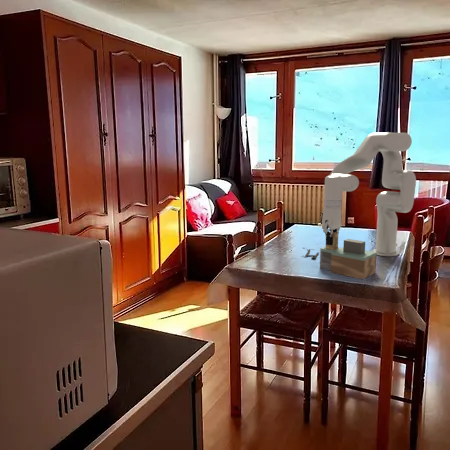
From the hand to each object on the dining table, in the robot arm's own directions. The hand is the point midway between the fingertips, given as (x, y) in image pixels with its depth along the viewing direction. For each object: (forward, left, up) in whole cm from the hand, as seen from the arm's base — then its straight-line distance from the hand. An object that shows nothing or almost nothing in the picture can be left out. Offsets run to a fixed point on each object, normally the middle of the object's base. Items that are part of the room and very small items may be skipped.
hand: (331, 243), depth 194 cm
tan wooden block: (0, 0, -7) cm, 7 cm away
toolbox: (0, +7, -11) cm, 14 cm away
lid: (0, +7, -3) cm, 8 cm away
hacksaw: (-16, -22, -12) cm, 29 cm away
